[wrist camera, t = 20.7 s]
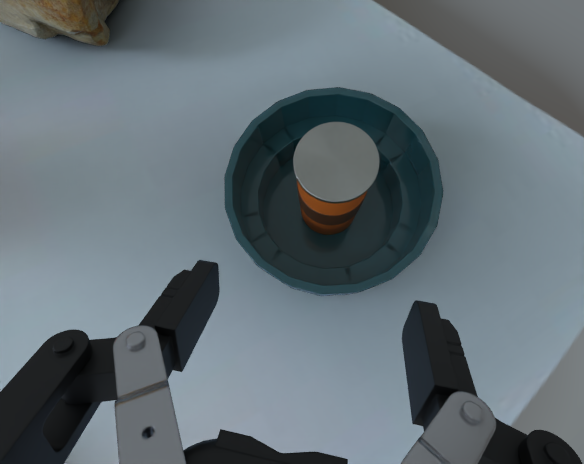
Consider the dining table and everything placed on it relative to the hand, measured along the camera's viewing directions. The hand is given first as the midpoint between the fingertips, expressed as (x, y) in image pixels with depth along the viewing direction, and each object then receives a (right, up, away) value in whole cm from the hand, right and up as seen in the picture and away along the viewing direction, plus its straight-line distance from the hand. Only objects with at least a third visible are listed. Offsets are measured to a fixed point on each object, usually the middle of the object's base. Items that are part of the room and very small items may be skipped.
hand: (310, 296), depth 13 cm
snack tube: (+2, +5, +16) cm, 16 cm away
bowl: (+2, +5, +16) cm, 17 cm away
